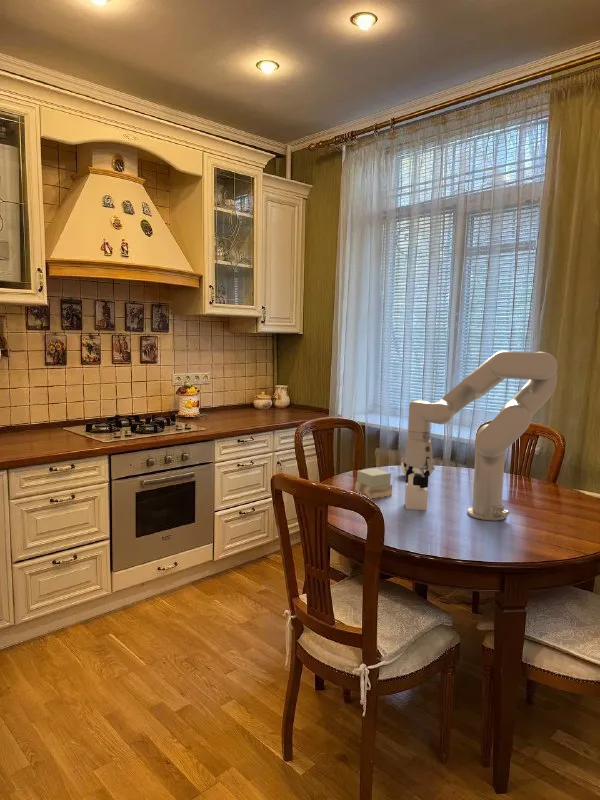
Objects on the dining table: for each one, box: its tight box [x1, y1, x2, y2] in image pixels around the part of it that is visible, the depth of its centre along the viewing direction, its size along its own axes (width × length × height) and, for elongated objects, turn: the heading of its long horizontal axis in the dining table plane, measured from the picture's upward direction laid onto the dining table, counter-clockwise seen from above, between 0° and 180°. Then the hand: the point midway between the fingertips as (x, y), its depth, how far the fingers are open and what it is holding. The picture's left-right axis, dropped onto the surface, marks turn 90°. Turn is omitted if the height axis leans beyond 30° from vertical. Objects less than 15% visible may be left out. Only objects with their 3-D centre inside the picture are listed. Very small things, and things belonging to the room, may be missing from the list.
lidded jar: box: [400, 456, 425, 476], centre depth 242 cm, size 11×11×9 cm
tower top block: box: [356, 467, 392, 488], centre depth 214 cm, size 9×9×4 cm
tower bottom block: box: [354, 481, 393, 500], centre depth 214 cm, size 10×10×4 cm
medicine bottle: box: [404, 473, 429, 511], centre depth 198 cm, size 7×7×12 cm
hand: (416, 484), depth 198 cm, fingers open, 6 cm apart
